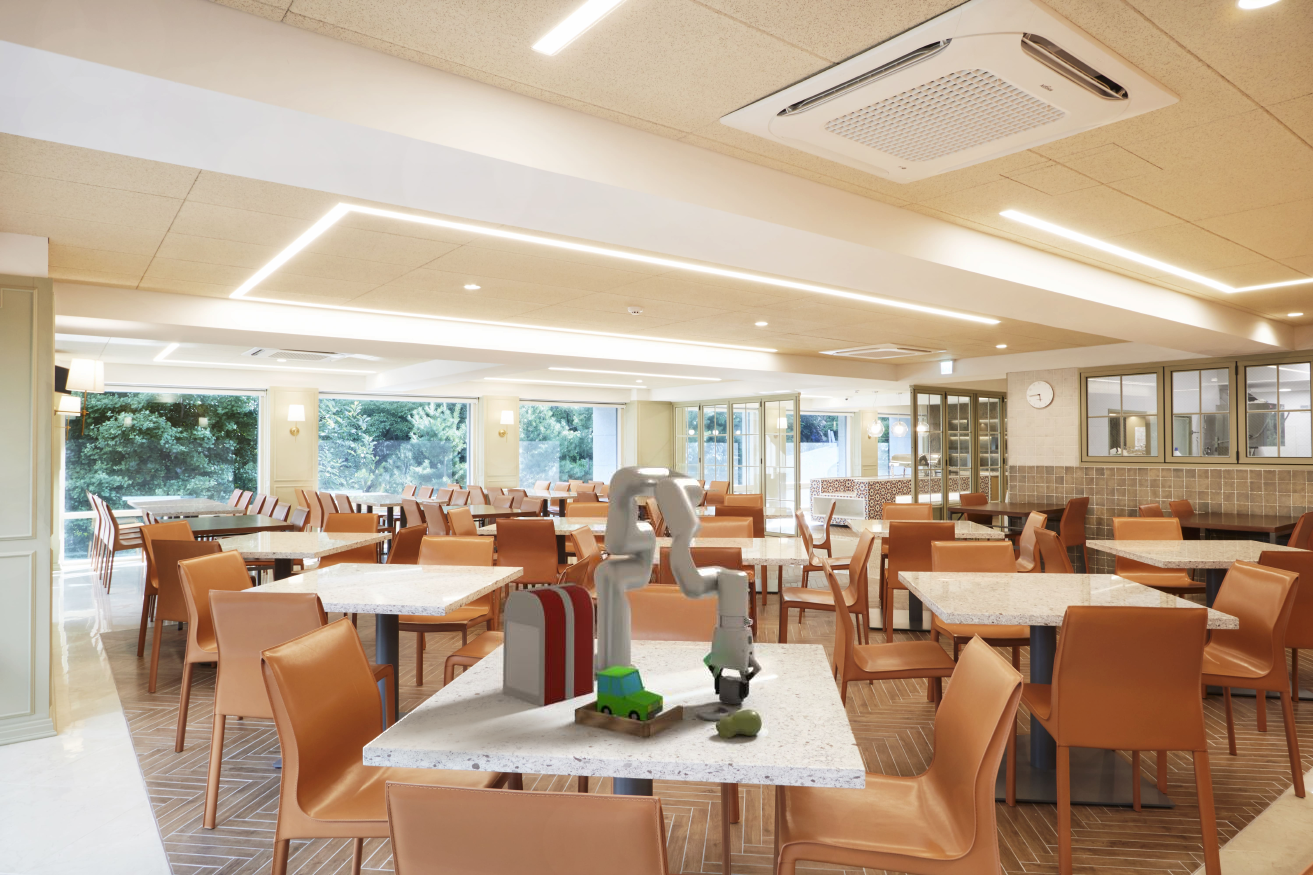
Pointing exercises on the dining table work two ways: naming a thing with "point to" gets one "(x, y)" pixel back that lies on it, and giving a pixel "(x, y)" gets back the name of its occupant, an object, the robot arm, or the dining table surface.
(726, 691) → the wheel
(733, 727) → the pear
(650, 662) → the dining table surface
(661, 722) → the bay
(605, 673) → the toy car
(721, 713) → the shallow metal dish
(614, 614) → the robot arm
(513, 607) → the red striped mailbox
